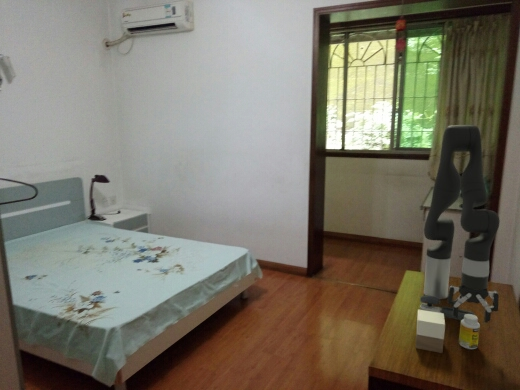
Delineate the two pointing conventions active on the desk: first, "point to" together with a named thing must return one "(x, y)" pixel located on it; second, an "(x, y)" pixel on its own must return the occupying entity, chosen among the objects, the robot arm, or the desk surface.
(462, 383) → the desk surface
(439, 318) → the tower top
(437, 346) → the tower base
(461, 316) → the can opener
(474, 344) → the supplement bottle
